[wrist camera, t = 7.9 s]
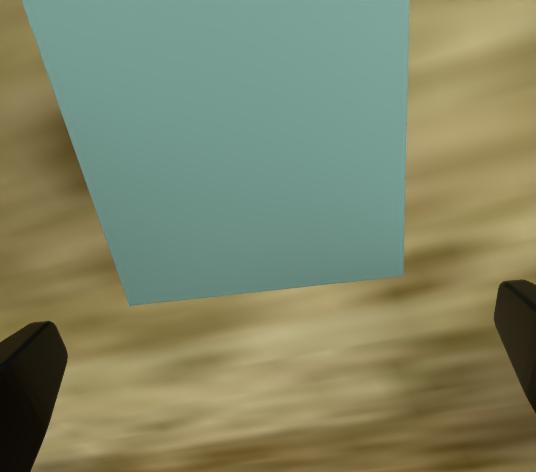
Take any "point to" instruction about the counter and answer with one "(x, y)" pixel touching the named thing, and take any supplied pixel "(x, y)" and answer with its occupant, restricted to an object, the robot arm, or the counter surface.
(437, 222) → the counter surface
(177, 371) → the counter surface
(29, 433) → the robot arm
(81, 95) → the teal block
